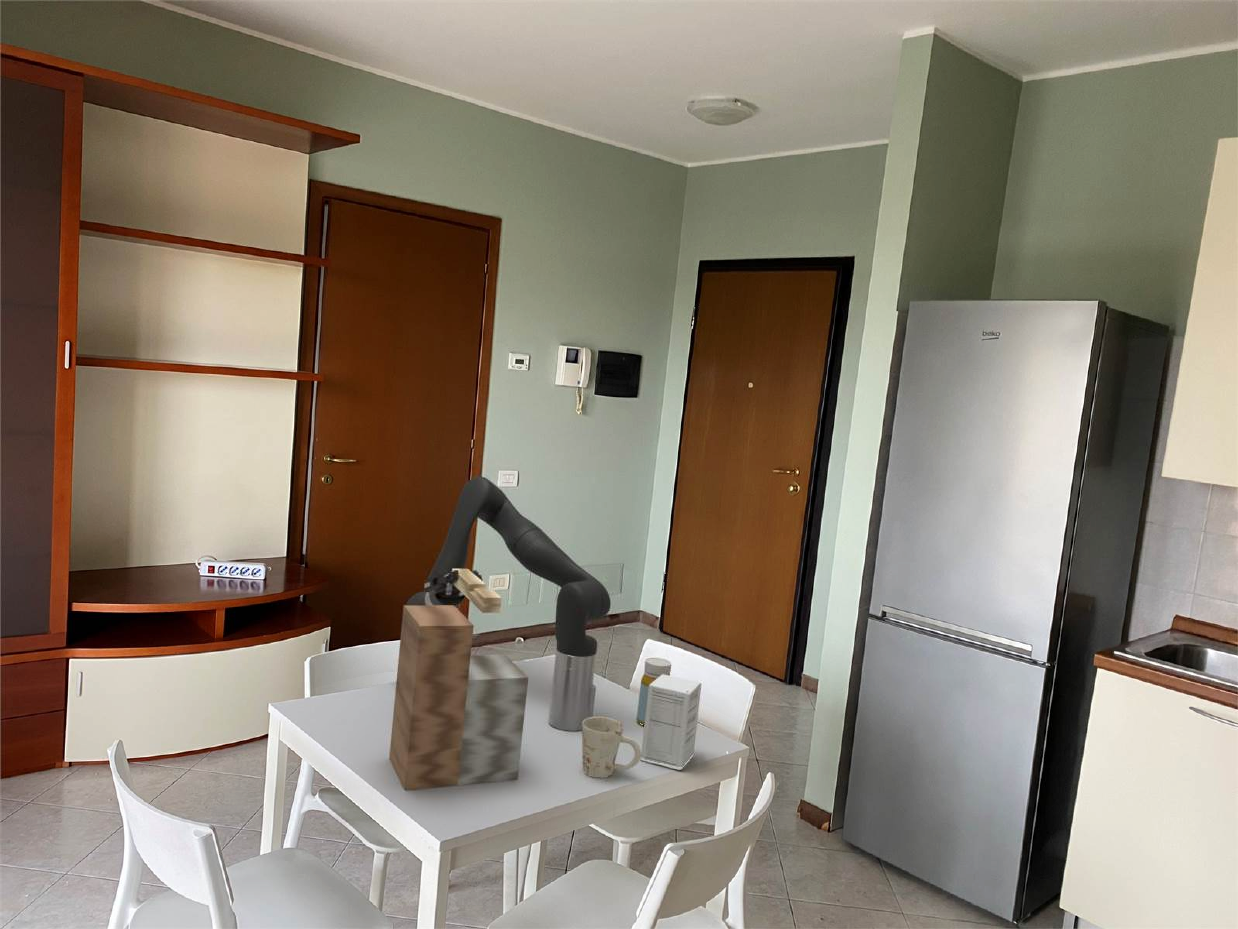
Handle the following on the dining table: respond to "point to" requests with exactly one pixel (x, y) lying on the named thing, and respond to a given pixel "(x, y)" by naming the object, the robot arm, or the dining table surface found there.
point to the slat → (477, 592)
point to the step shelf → (453, 705)
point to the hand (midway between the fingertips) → (466, 574)
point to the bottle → (651, 673)
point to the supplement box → (671, 720)
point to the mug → (604, 746)
